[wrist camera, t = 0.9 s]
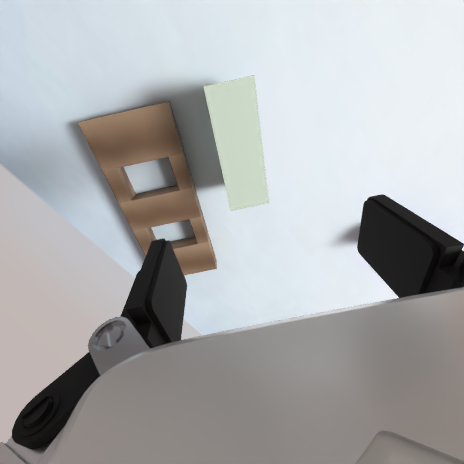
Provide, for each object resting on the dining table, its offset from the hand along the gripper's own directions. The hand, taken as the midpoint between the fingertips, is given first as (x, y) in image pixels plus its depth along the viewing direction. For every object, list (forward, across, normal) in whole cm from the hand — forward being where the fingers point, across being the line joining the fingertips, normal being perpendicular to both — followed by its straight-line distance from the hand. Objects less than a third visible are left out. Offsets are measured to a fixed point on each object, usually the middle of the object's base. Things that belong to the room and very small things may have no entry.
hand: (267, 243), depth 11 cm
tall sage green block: (+19, 0, -1) cm, 19 cm away
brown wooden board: (+19, +10, +5) cm, 22 cm away
